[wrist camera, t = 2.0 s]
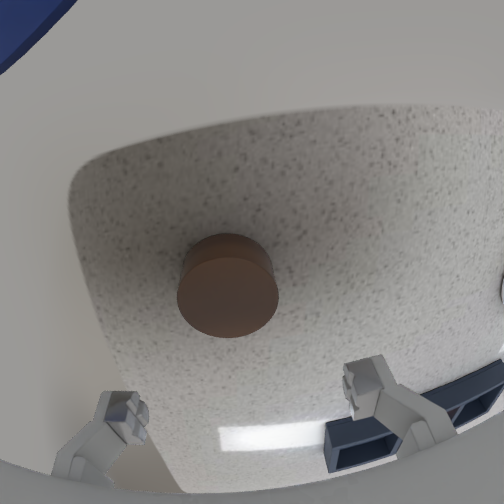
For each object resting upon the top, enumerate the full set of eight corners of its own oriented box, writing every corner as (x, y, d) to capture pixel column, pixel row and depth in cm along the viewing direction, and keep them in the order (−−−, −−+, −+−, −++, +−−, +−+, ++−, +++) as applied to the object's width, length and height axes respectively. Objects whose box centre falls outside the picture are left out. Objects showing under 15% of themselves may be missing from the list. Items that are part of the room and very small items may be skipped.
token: (171, 242, 16) (163, 267, 14) (266, 225, 16) (272, 248, 14) (195, 315, 19) (192, 343, 16) (277, 301, 19) (283, 329, 16)
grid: (325, 422, 27) (332, 448, 24) (500, 358, 26) (512, 375, 24) (323, 452, 30) (328, 473, 28) (478, 396, 30) (487, 412, 28)
